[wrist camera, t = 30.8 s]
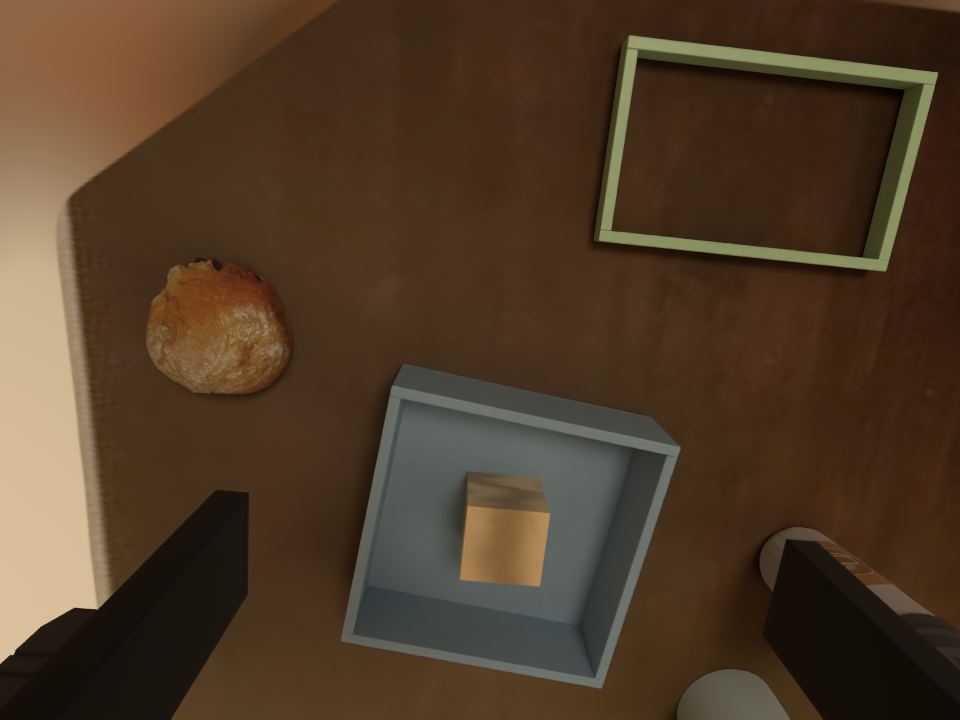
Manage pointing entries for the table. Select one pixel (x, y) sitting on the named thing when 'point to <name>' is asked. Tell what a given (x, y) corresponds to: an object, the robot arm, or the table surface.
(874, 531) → the table surface
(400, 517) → the bin
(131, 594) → the robot arm
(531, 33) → the table surface
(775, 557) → the coffee cup
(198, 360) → the bread roll
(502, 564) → the block
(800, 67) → the frame
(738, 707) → the mug
